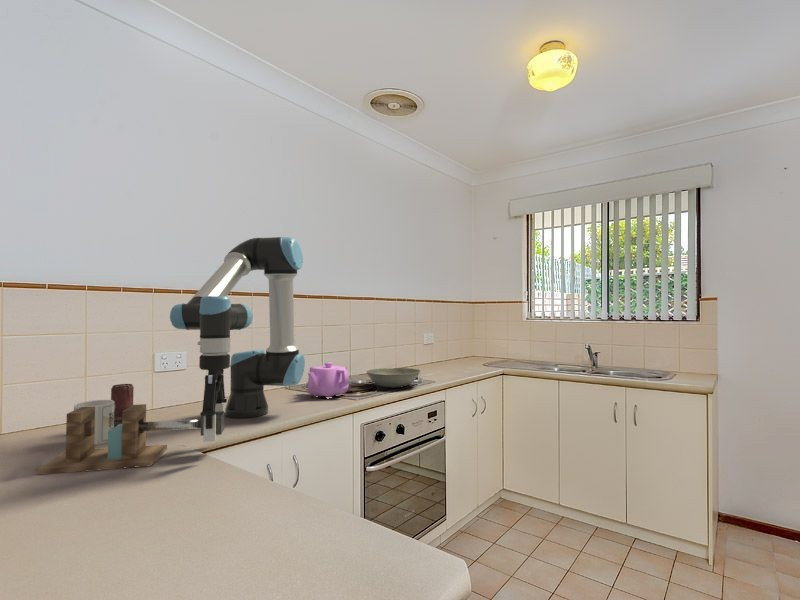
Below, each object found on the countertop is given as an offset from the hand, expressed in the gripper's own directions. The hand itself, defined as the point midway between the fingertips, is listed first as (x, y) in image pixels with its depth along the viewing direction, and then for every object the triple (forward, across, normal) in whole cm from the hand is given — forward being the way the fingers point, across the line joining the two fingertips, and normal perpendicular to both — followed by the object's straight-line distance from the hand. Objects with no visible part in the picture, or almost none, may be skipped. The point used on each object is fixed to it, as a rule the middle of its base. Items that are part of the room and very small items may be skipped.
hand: (214, 433), depth 118 cm
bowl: (+6, -93, +70) cm, 117 cm away
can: (+5, -34, -33) cm, 48 cm away
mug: (+5, -19, -36) cm, 41 cm away
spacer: (+4, 0, -22) cm, 23 cm away
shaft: (0, 0, -8) cm, 8 cm away
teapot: (+6, -75, +36) cm, 83 cm away
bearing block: (+5, 0, -25) cm, 26 cm away
